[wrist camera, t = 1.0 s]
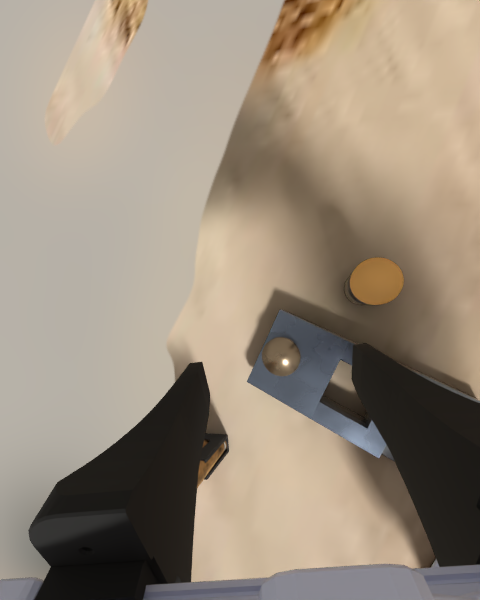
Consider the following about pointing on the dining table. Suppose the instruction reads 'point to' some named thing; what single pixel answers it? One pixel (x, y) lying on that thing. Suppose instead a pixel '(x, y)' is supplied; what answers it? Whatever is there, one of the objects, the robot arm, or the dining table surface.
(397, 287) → the pin
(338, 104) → the dining table surface
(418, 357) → the dining table surface
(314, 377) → the chain end left
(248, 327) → the dining table surface
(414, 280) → the dining table surface
